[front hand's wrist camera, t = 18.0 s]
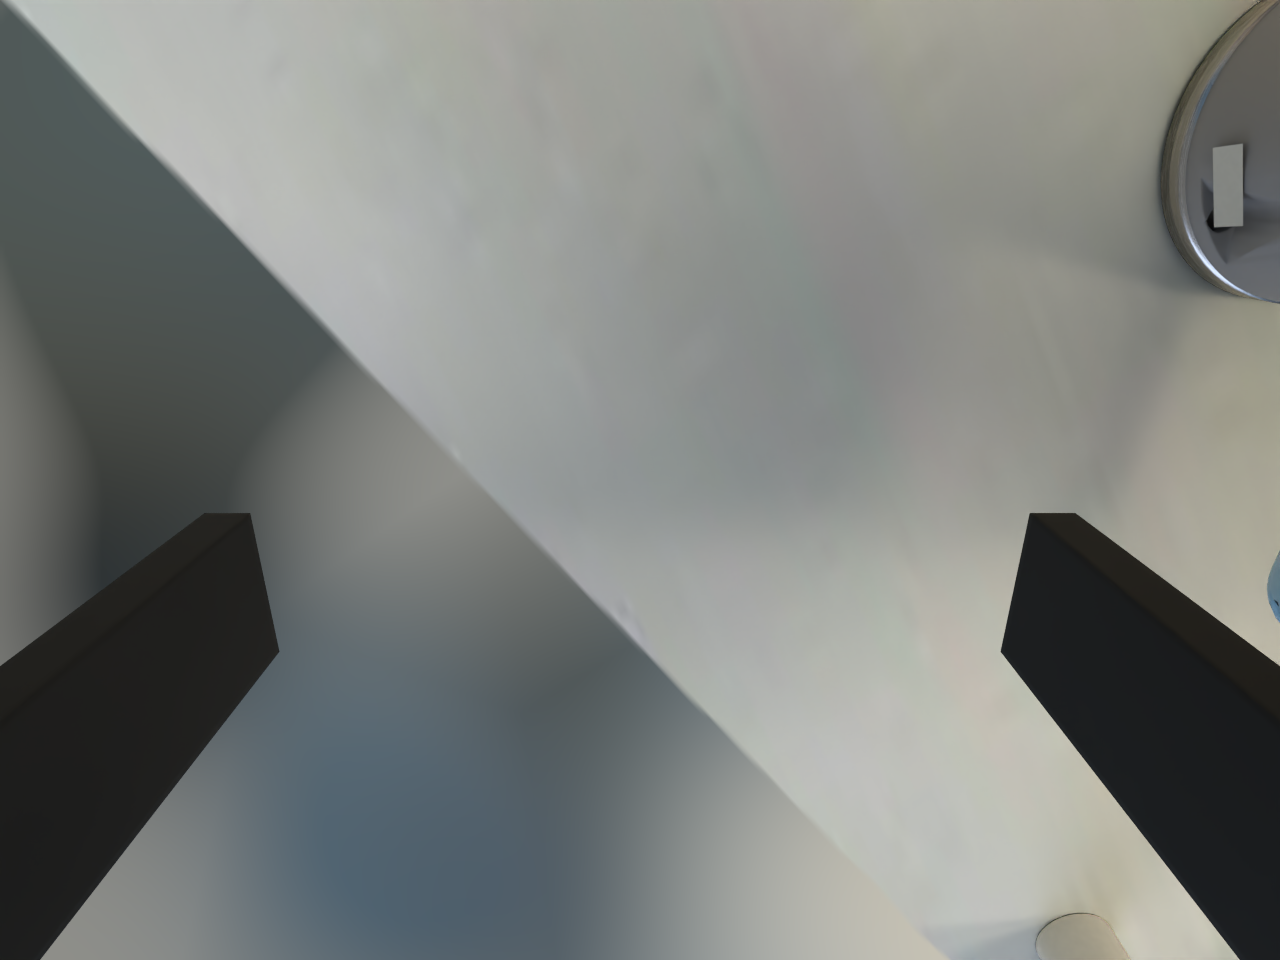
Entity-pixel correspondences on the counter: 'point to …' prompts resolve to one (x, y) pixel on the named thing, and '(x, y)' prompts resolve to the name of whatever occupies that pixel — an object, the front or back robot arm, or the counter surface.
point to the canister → (1079, 940)
